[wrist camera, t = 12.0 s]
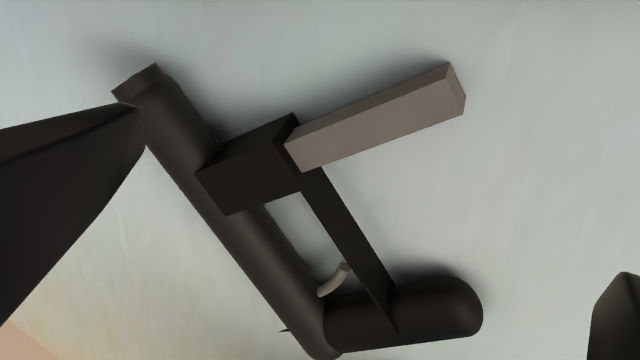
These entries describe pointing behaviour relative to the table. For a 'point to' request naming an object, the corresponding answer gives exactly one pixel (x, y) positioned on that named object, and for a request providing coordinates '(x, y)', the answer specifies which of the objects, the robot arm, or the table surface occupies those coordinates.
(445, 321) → the door handle
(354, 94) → the table surface
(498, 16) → the table surface
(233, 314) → the table surface
